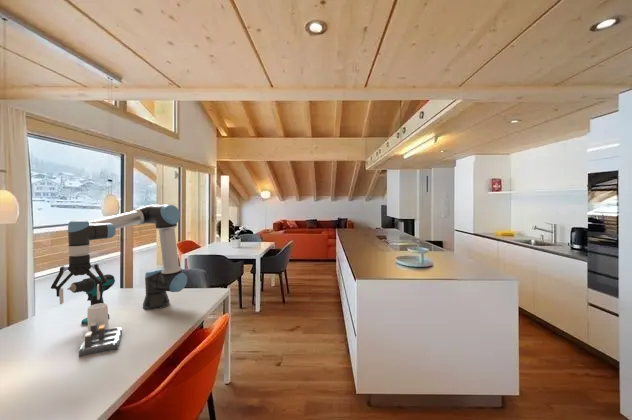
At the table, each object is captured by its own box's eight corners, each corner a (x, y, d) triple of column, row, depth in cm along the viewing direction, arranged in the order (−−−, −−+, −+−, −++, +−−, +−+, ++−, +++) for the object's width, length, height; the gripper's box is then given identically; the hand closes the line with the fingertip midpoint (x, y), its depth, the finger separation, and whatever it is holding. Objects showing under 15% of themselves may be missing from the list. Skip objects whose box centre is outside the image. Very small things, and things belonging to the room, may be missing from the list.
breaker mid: (105, 335, 145) (105, 324, 145) (104, 339, 142) (103, 327, 142) (100, 336, 144) (99, 325, 144) (98, 340, 141) (98, 328, 141)
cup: (112, 331, 157) (111, 303, 156) (96, 338, 149) (95, 309, 149) (100, 329, 160) (99, 302, 159) (83, 336, 152) (83, 307, 151)
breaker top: (92, 343, 138) (92, 331, 137) (90, 347, 134) (90, 334, 134) (87, 344, 137) (86, 332, 137) (85, 348, 133) (84, 335, 133)
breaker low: (97, 332, 149) (97, 321, 149) (96, 335, 146) (95, 324, 145) (92, 333, 148) (92, 322, 148) (90, 336, 145) (90, 325, 144)
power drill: (76, 333, 155) (74, 284, 155) (61, 331, 157) (60, 283, 156) (119, 314, 181) (117, 272, 180) (106, 313, 183) (104, 271, 182)
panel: (122, 332, 155) (121, 326, 155) (117, 349, 137) (117, 342, 137) (88, 338, 149) (87, 331, 149) (78, 357, 131) (78, 349, 131)
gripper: (113, 251, 148) (114, 294, 149) (46, 255, 137) (47, 303, 137) (111, 253, 142) (112, 299, 142) (40, 258, 130) (42, 308, 131)
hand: (80, 301), depth 140 cm, fingers open, 13 cm apart
